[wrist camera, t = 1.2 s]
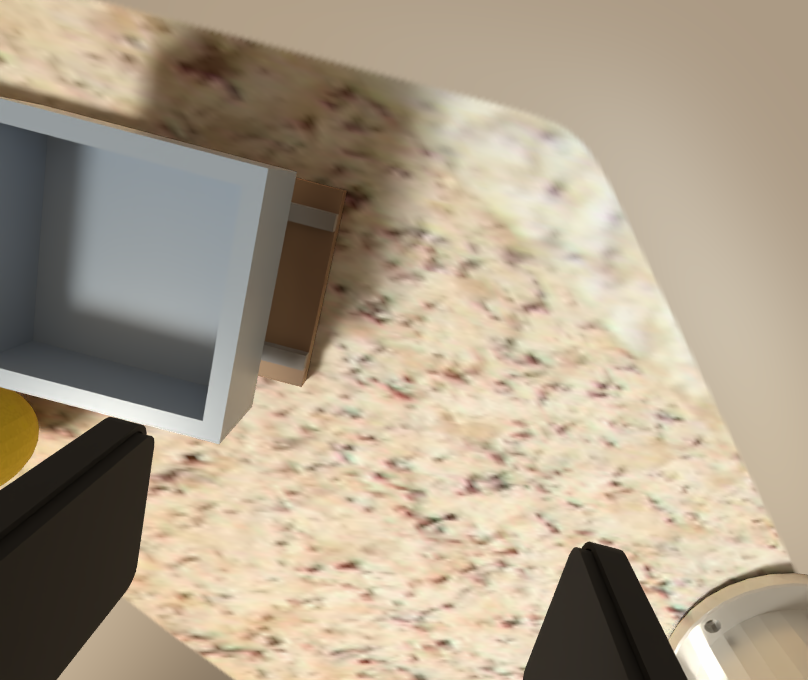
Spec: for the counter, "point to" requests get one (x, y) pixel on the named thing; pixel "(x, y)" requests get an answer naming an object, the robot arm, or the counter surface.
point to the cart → (134, 270)
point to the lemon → (15, 433)
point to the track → (301, 281)
